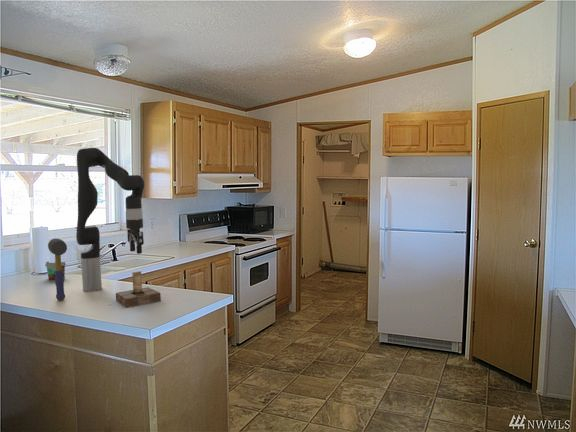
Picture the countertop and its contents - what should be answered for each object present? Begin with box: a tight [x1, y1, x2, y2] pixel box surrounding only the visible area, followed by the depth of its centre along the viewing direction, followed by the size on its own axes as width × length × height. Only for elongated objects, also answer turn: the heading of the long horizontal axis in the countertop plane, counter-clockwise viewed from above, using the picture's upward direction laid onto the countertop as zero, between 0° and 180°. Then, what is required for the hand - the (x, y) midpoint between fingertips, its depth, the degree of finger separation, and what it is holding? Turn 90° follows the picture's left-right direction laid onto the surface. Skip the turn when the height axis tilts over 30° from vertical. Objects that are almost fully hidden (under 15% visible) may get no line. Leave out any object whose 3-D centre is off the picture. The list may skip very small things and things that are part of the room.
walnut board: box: [115, 287, 162, 309], centre depth 223 cm, size 15×16×4 cm
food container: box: [45, 260, 67, 281], centre depth 275 cm, size 12×6×10 cm, turn 76°
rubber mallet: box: [47, 238, 68, 302], centre depth 226 cm, size 12×8×30 cm, turn 34°
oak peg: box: [131, 270, 143, 295], centre depth 223 cm, size 4×4×14 cm
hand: (136, 252), depth 221 cm, fingers open, 8 cm apart
